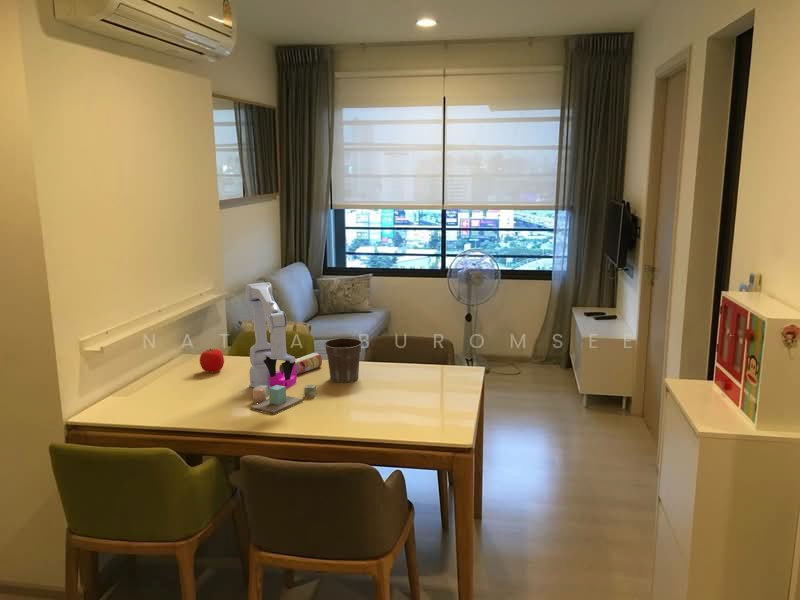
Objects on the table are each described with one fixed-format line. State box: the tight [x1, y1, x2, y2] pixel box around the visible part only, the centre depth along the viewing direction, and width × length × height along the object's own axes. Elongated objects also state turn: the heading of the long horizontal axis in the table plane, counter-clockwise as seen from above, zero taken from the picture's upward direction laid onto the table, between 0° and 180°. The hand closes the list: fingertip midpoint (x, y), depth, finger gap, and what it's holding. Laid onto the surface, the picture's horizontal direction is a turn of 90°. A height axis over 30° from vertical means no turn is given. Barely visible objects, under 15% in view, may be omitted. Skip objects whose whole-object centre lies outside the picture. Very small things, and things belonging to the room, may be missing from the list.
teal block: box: [268, 385, 287, 405], centre depth 244 cm, size 4×4×6 cm
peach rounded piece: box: [252, 387, 267, 404], centre depth 249 cm, size 5×5×5 cm
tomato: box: [199, 348, 225, 373], centre depth 289 cm, size 10×11×11 cm
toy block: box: [270, 363, 297, 390], centre depth 269 cm, size 15×6×8 cm, turn 160°
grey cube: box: [254, 385, 269, 397], centre depth 255 cm, size 4×4×4 cm
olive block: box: [303, 384, 317, 398], centre depth 254 cm, size 4×4×4 cm
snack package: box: [278, 352, 323, 376], centre depth 286 cm, size 21×7×7 cm, turn 142°
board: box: [250, 395, 304, 415], centre depth 244 cm, size 12×16×1 cm
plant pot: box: [324, 337, 363, 383], centre depth 274 cm, size 16×16×16 cm
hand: (280, 377), depth 244 cm, fingers open, 7 cm apart
